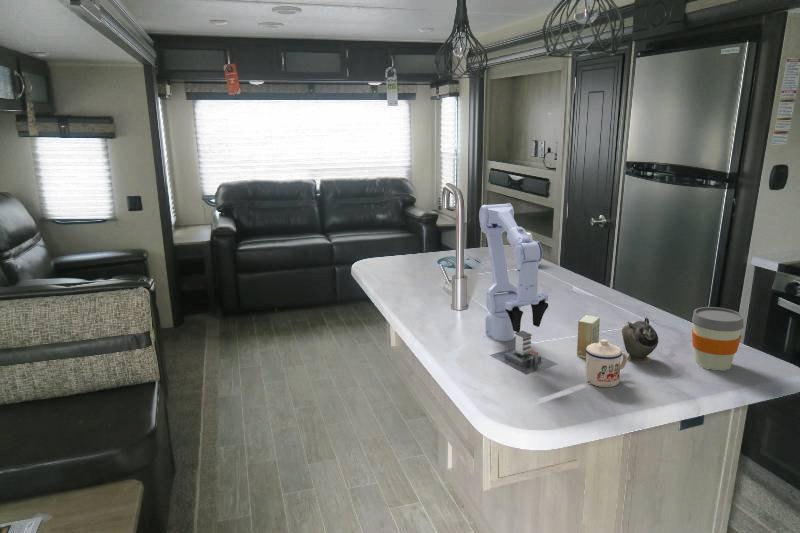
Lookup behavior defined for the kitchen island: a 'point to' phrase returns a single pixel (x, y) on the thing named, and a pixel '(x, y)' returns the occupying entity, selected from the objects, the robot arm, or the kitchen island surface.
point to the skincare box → (587, 333)
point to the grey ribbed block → (523, 342)
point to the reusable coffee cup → (716, 336)
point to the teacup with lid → (604, 364)
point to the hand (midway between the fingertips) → (526, 328)
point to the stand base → (523, 361)
